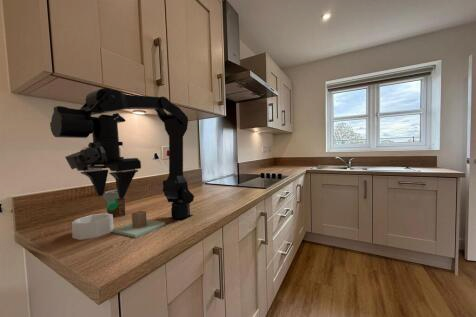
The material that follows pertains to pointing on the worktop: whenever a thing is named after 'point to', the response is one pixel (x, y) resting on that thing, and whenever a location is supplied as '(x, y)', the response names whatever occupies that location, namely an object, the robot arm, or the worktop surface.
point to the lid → (138, 225)
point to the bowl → (92, 226)
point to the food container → (114, 203)
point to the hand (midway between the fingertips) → (110, 196)
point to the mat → (138, 236)
